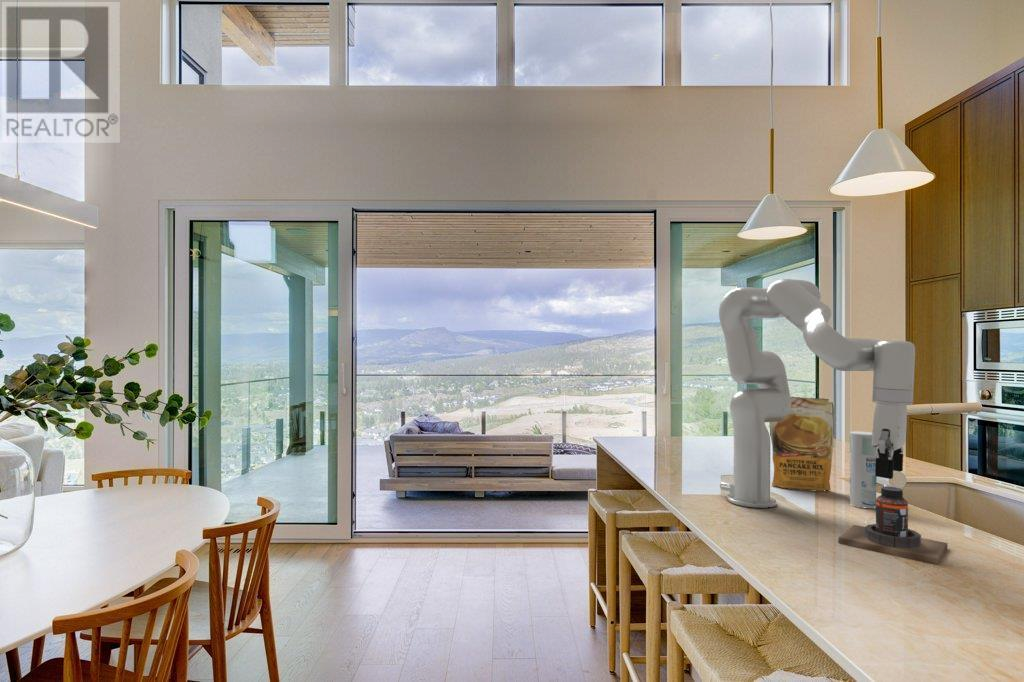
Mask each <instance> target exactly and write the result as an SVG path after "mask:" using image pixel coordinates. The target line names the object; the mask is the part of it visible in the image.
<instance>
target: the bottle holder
mask: <svg viewBox="0 0 1024 682" xmlns="http://www.w3.org/2000/svg"><path fill="white" fill-rule="evenodd" d="M837 542H838V543H839V544H843V545H846V544H847V545H848V546H851V545H853V546H852V547H855V546H857V548H860V547H861V548H860V549H865V548H866V549H867V550H869V549H871V550H870V551H874V550H875V552H878V551H879V552H880V553H884V554H888V555H893V556H897V557H901V558H902V557H903V558H906V559H909V560H910V559H911V560H916V561H921V562H926V563H929V564H934V565H939V563H940V561H941V560H942V558H943V557H944V555H945V553H946V552H947V550H948V542H944V541H938V540H934V539H930V538H929V539H928V538H924V537H922V535H921V533H919V532H918V531H916V530H913V529H910V528H908V537H896V536H890V535H885V534H881V533H878V532H876V523H871V524H867V525H866V526H862V525H858V524H853V525H852V526H851V527H849V528H848V529H847V530H846V531H844V532H843V533H842V534H841V535H840V536H838V540H837Z"/></svg>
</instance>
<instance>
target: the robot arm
mask: <svg viewBox="0 0 1024 682" xmlns="http://www.w3.org/2000/svg"><path fill="white" fill-rule="evenodd" d="M821 298H822V297H821V292H820V289H819V288H818V286H817V285H816V284H815V283H813V282H812V281H808V280H801V279H790V278H783V279H778V280H775V281H773V282H772V283H770V285H769V286H768V287H767V288H764V287H763V288H760V287H748V286H745V287H744V286H743V287H736V288H733V289H731V290H729V291H727V293H726V294H724V296H723V297H722V299H721V302H720V303H719V307H718V308H719V309H718V317H719V321H720V322H719V323H720V326H721V331H722V333H723V336H724V340H725V349H726V354H727V360H728V361H727V363H728V366H729V372H730V376H731V378H732V380H733V382H736V383H738V384H739V385H757V386H758V388H746V389H741V390H739V391H737V392H736V393H734V394H733V396H732V397H731V399H730V403H729V404H730V405H729V407H730V408H729V409H730V415H731V420H732V428H733V482H731V483H728V482H723V481H721V482H720V484H719V489H720V490H721V491H726V492H728V493H729V494H728V495H727V501H728V502H730V503H731V504H734V505H737V506H741V507H747V508H755V509H767V508H768V507H769V508H774V507H776V506H777V500H776V498H774V497H772V496H771V435H770V431H768V427H767V426H766V423H769V422H776V421H781V420H784V419H785V418H786V417H787V416H788V415H789V413H790V410H791V398H790V397H791V393H790V388H789V382H788V376H787V372H786V371H787V370H786V367H785V364H784V362H783V361H782V359H781V357H780V356H779V355H777V354H776V353H775V352H772V351H769V350H760V347H759V342H758V338H757V337H758V336H757V332H756V331H755V329H754V327H753V326H752V324H751V323H750V322H749V319H750V318H751V319H776V318H783V317H784V318H785V319H786V320H787V321H788V322H790V323H792V324H793V326H795V327H796V328H797V329H799V331H801V332H802V336H803V340H804V342H805V344H806V346H807V347H808V349H809V350H810V351H811V352H812V353H813V354H814V355H815V356H816V357H818V358H819V359H820V360H821V361H823V363H825V364H826V365H827V366H829V367H831V368H833V369H835V370H837V371H841V372H872V371H873V375H872V376H873V377H872V397H871V400H872V401H871V402H872V403H876V404H875V407H874V412H873V413H874V414H873V421H872V422H873V423H872V432H871V433H872V443H871V445H872V446H873V447H875V448H876V447H877V454H876V468H875V475H876V476H877V478H884V479H888V480H889V479H890V480H893V478H894V471H895V472H903V467H904V465H903V464H904V448H903V447H904V446H905V445H906V439H907V426H908V425H907V423H908V422H907V421H908V419H907V418H908V406H913V404H914V386H915V385H914V384H915V368H916V367H915V366H916V365H915V363H916V346H915V345H914V343H913V342H911V341H908V340H907V341H906V340H879V339H873V338H872V339H871V338H855V337H854V338H853V337H852V338H851V337H845V336H844V335H843V334H841V333H840V332H839V331H836V330H835V329H834V328H833V327H832V326H831V325H829V324H828V323H829V322H830V320H831V318H832V309H831V308H830V307H829V305H827V304H826V303H825V302H823V301H821Z"/></svg>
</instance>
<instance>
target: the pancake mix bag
mask: <svg viewBox="0 0 1024 682" xmlns="http://www.w3.org/2000/svg"><path fill="white" fill-rule="evenodd" d="M790 398H791V410H790V413H789V415H788V416H787V417H786V418H785V419H784V420H781V421H776V422H768V423H769V435H770V442H771V447H772V449H771V450H772V463H773V478H772V483H771V486H772V487H776V486H778V487H777V488H779V487H781V488H780V489H785V488H788V489H789V490H795V489H802V490H801V491H808V490H816V491H815V492H820V491H824V490H831V491H832V488H831V483H830V479H831V475H832V474H831V473H832V472H831V471H832V463H833V453H834V452H833V451H834V445H835V443H834V438H835V418H834V416H835V409H834V408H835V407H834V402H833V401H830V399H829V398H823V397H822V398H819V397H818V398H817V397H816V398H815V397H813V398H812V397H801V396H790ZM788 489H787V490H788ZM824 492H825V491H824Z"/></svg>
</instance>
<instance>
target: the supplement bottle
mask: <svg viewBox="0 0 1024 682" xmlns="http://www.w3.org/2000/svg"><path fill="white" fill-rule="evenodd" d="M903 492H904V489H902V488H900V487H895V486H881V488H880V494H881V495H878V496H876V508H875V524H876V532H878V533H881V534H885V535H890V536H896V537H908V529H909V503H908V501H907V500H906V499H905V498H904V497H903V496H904V493H903Z"/></svg>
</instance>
